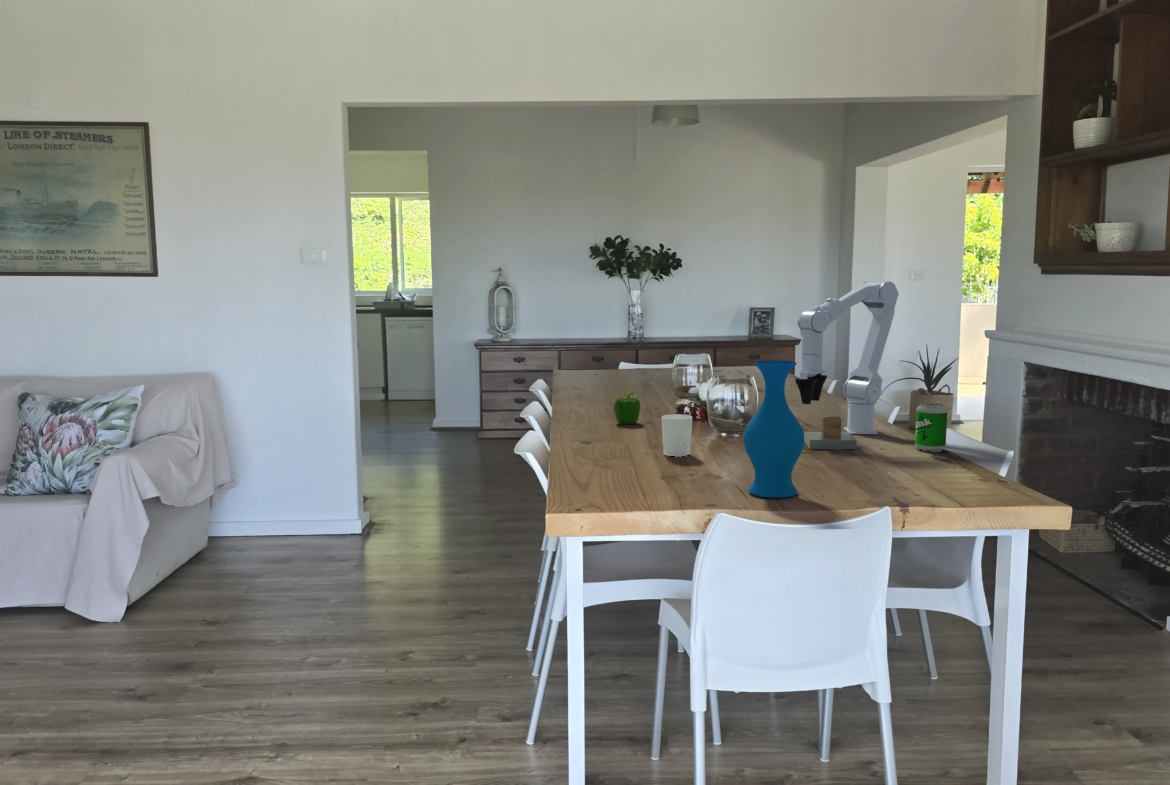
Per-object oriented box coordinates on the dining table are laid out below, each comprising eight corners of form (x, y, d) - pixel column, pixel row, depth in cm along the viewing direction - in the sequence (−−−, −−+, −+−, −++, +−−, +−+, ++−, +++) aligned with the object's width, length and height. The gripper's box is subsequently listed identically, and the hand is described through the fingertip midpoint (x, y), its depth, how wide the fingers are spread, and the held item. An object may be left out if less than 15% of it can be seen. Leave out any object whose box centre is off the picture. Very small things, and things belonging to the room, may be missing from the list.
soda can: (940, 447, 232) (942, 402, 231) (949, 453, 225) (951, 407, 223) (911, 447, 233) (913, 402, 231) (919, 452, 225) (921, 406, 224)
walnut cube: (821, 434, 239) (822, 416, 238) (838, 434, 238) (839, 416, 238) (823, 437, 235) (824, 418, 234) (840, 437, 234) (841, 419, 233)
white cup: (688, 458, 221) (688, 419, 220) (658, 456, 224) (658, 418, 222) (694, 452, 228) (695, 415, 227) (665, 450, 231) (665, 413, 230)
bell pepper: (623, 426, 269) (623, 394, 267) (609, 422, 276) (609, 391, 274) (646, 424, 273) (646, 392, 271) (632, 420, 280) (632, 389, 278)
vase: (736, 487, 191) (738, 360, 187) (793, 486, 191) (796, 359, 188) (750, 501, 179) (753, 366, 175) (811, 500, 180) (814, 365, 176)
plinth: (803, 440, 243) (804, 431, 243) (848, 441, 242) (848, 432, 242) (809, 449, 232) (809, 439, 231) (856, 449, 230) (856, 440, 230)
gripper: (818, 356, 235) (816, 406, 237) (834, 352, 247) (832, 399, 249) (792, 355, 238) (791, 404, 240) (809, 351, 251) (808, 398, 252)
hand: (810, 402), depth 245 cm, fingers open, 7 cm apart
